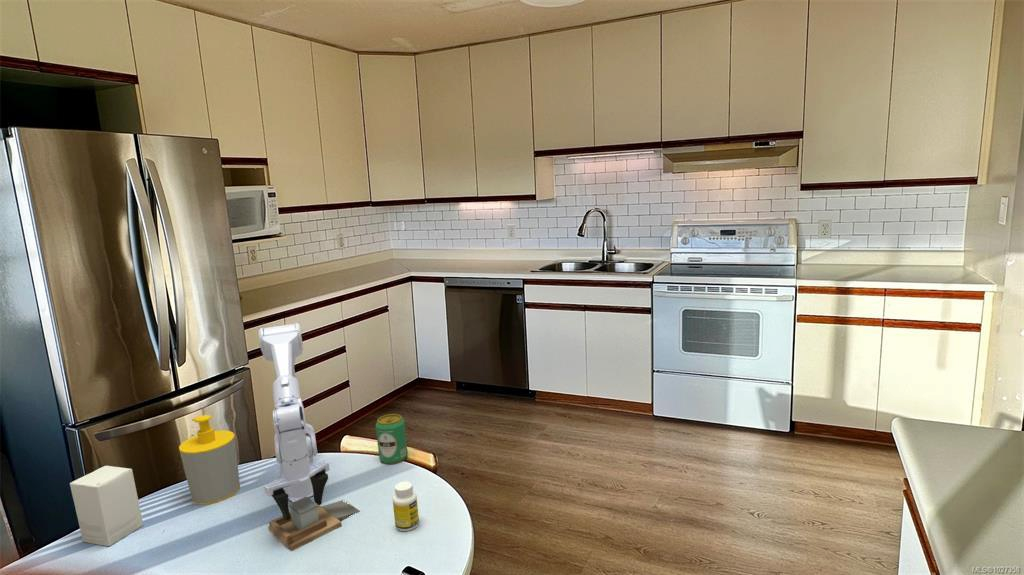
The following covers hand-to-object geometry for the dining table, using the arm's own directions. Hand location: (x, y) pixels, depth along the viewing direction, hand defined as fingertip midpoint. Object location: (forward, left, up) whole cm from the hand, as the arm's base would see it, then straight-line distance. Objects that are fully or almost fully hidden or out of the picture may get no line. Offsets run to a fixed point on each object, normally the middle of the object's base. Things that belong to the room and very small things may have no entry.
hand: (302, 510), depth 133 cm
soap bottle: (-35, -8, -5) cm, 36 cm away
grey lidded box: (0, 0, -3) cm, 3 cm away
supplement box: (-35, -31, -5) cm, 47 cm away
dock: (0, +3, -5) cm, 6 cm away
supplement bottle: (+18, +16, -5) cm, 25 cm away
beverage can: (-13, +33, -5) cm, 36 cm away
